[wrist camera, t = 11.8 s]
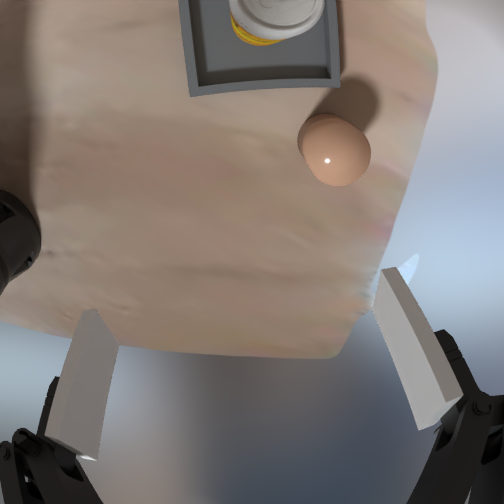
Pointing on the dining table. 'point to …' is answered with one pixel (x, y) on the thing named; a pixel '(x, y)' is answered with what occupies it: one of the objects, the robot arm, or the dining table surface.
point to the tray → (255, 53)
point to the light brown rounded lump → (334, 149)
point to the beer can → (273, 19)
